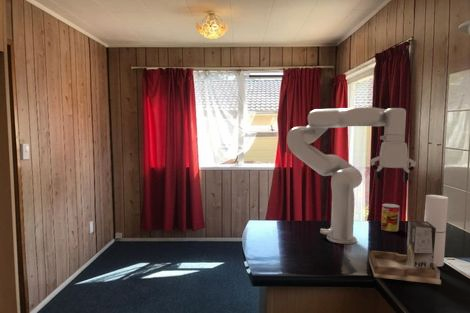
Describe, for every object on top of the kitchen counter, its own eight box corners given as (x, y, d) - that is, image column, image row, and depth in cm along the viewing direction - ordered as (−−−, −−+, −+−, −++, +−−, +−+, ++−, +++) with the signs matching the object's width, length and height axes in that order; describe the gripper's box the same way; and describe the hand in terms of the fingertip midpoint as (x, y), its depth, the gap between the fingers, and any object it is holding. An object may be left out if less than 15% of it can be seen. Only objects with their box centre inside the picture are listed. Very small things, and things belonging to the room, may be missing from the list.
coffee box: (433, 275, 117) (436, 228, 116) (412, 273, 119) (415, 226, 117) (424, 265, 126) (427, 220, 125) (405, 263, 128) (408, 219, 126)
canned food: (379, 226, 180) (380, 203, 179) (395, 227, 179) (396, 204, 178) (383, 231, 172) (384, 206, 171) (400, 231, 171) (402, 207, 170)
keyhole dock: (374, 276, 118) (375, 266, 118) (368, 259, 134) (369, 250, 134) (440, 284, 114) (441, 273, 113) (427, 265, 129) (427, 255, 129)
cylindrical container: (443, 268, 127) (448, 199, 125) (420, 263, 131) (425, 197, 129) (443, 261, 133) (448, 196, 131) (422, 257, 137) (426, 194, 135)
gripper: (372, 139, 140) (370, 181, 141) (420, 140, 136) (417, 184, 137) (370, 138, 147) (368, 179, 149) (415, 139, 143) (413, 181, 144)
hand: (391, 181), depth 143 cm, fingers open, 9 cm apart
